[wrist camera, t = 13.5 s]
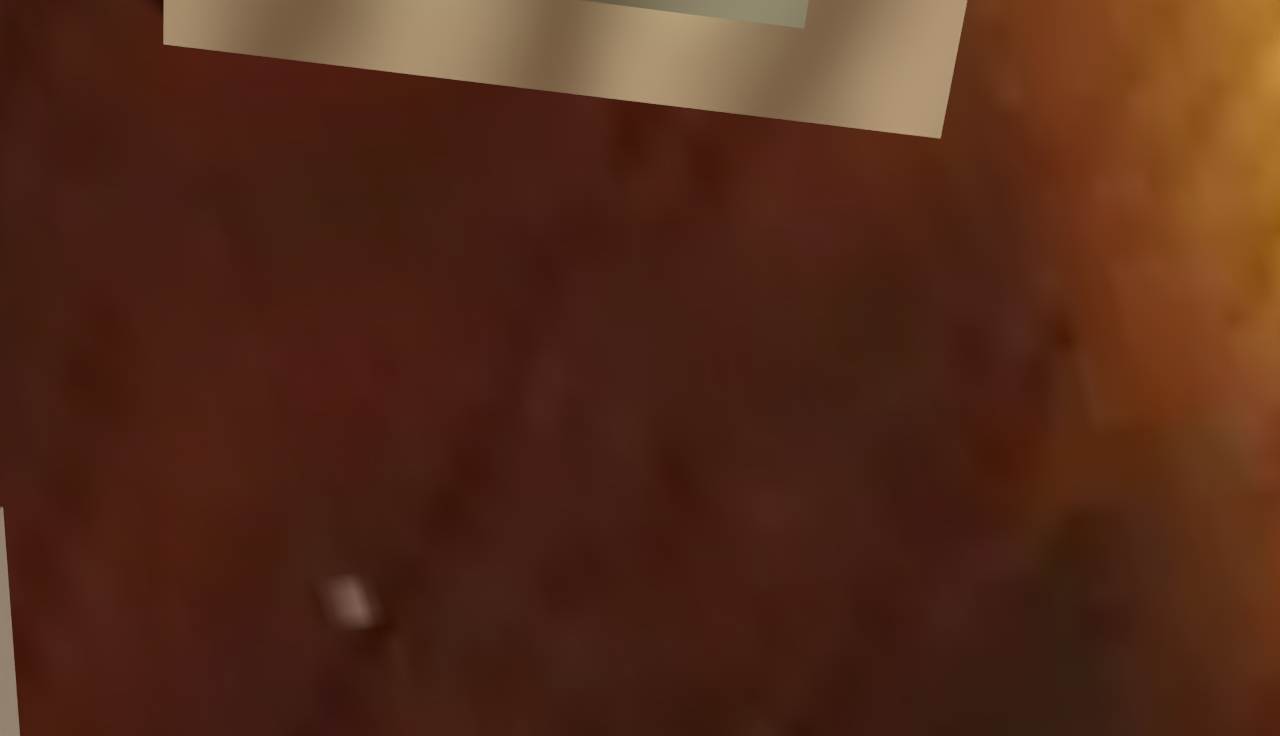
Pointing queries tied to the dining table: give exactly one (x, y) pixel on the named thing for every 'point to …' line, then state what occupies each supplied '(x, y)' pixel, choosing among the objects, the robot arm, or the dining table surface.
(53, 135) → the dining table surface
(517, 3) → the build plinth
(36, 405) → the dining table surface
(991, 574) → the dining table surface
